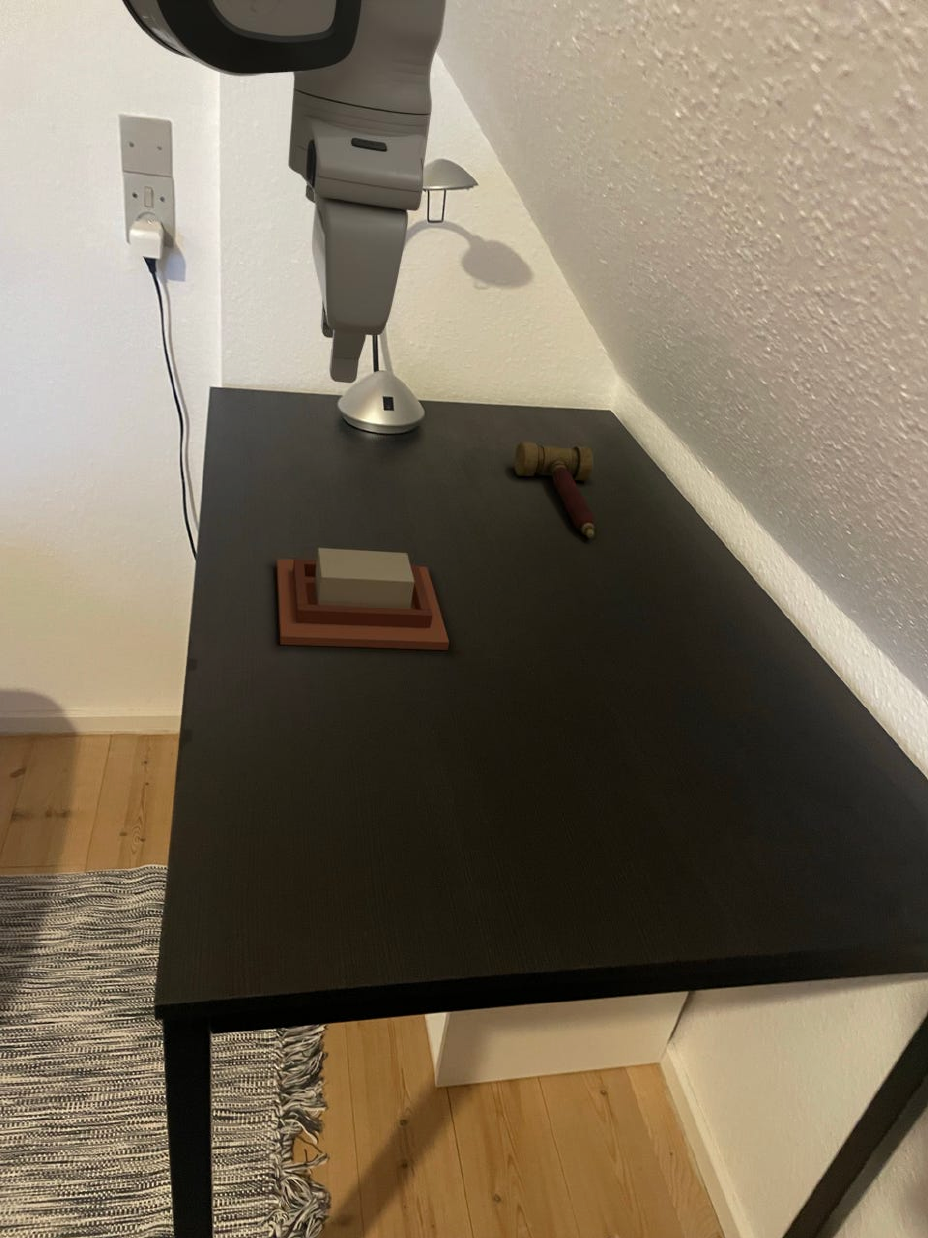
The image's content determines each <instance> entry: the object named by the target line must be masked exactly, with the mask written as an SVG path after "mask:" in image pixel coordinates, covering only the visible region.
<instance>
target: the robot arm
mask: <svg viewBox="0 0 928 1238" xmlns="http://www.w3.org/2000/svg"><path fill="white" fill-rule="evenodd" d="M121 1H122V3H123V5H124V7H125V8H126V10H127V11H128V14H130V16H131V17H132V19H133V20H134V21H135V24H137V25H138V26H139V28H140V29H141V30H142V31H143V32H144V33H145V34H146V35H147V36H148V37H149V38H150V39H151V40H153V41H154V42H155V43H157V44H158V45H159V46H161V47H162V48H163V49H165V50H167V51H169V52H171V53H173V54H175V55H178V56H181V57H184V58H187V59H191V60H193V61H194V62H196V63H198V64H199V65H202V66H204V67H206V68H208V69H210V70H213V71H214V72H217V73H221V74H224V75H229V76H233V77H256V76H262V75H266V74H282V73H283V74H284V73H292V75H293V90H292V101H291V102H292V103H291V118H290V130H289V131H290V132H289V145H288V146H289V147H288V163H287V165H288V167H289V169H290V170H291V171H293V172H294V173H296V174H298V175H300V176H301V177H302V179H303V180H304V181H305V182H306V186H305V195H304V196H305V198H306V199H307V201H309V202H311V203H313V204H314V213H313V222H312V225H313V226H312V234H311V252H312V258H313V260H314V261H313V262H314V267H315V271H316V277H317V281H318V285H319V289H320V295H321V318H320V330H321V333H322V335H323V337H325V338H328V339H332V341H331V349H330V357H329V368H328V369H329V375H330V378H331V380H332V381H334V382H335V383H342V384H343V383H344V384H353V383H355V382H356V380H357V378H358V372H359V371H358V370H359V362H360V359H361V355H362V353H363V352H362V351H363V349H364V345H365V342H366V339H367V336H380V335H382V333H383V332H384V330H385V328H386V326H387V323H388V322H389V321H388V320H389V319H390V318H389V317H390V316H391V311H392V307H393V301H394V298H395V293H396V288H397V284H398V279H399V274H400V269H401V264H402V259H403V254H404V249H405V244H406V243H405V242H406V239H407V232H408V225H409V212H408V211H414V212H416V211H418V210H419V209H420V207H421V204H422V203H421V202H422V196H423V191H424V190H423V189H424V168H425V161H426V154H427V147H428V140H429V133H430V132H429V131H430V124H431V117H432V112H433V111H432V110H433V109H432V108H433V102H432V101H433V100H432V92H431V72H432V65H433V61H434V57H435V54H436V52H437V49H438V47H439V44H440V42H441V39H442V35H443V31H444V23H445V15H446V7H447V0H121Z"/></svg>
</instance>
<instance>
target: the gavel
mask: <svg viewBox="0 0 928 1238" xmlns="http://www.w3.org/2000/svg"><path fill="white" fill-rule="evenodd" d="M593 467H594V454H593V451H592V449H591V448H590V447H587V446H574V447H573V448H572V449H571V448H570V447H561V446H551V445H550V446H549V445H540V446H538V445H537V444H536V442H532V441H520V442H519V443H518V444H517V446H516V450H515V453H514V470H515V473H516V474H517V476H522V477H533V476H534V475H535V474H537V475H539V476H550V477H552V481H553V485H554V486H555V488H556V490H557V492H558V495H559V496H560V498H561V501H562V503H563V504H564V507H565V509H566V512H567V513H568V515H569V518H570V519H571V522H572V523H573V526H574V527H575V528H576V530H578V531H579V532H581V533H582V534H583V535H584V536H586V537H587V538H590V539H591V538H594V537H595V518H594V516H593V514H592V512H591V510H590V508H589V505H588V504H587V502H586V500H585V499H584V497H583V494H582V493H581V491H580V489H579V487H578V485H577V483H576V481H583V482H584V481H588V480H589V478H590V477H591V475H592V472H593Z"/></svg>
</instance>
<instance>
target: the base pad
mask: <svg viewBox="0 0 928 1238" xmlns="http://www.w3.org/2000/svg"><path fill="white" fill-rule="evenodd" d="M316 564H317V559H314V558H312V559H311V558H293V559H290V558H289V559H286V558H277V560H276V581H277V584H276V585H277V601H278V602H277V603H278V604H277V605H278V621H279V622H278V624H279V626H278V627H279V644H280V645H283V646H284V645H285V646H312V647H342V648H372V649H403V650H428V651H429V650H433V651H434V650H435V651H448V650H449V644H450V639H449V638H448V635H447V634H448V633H447V630H446V627H445V623H444V620H443V616H442V614H441V609H440V606H439V603H438V600H437V597H436V593H435V589H434V586H433V583H432V579H431V576H430V572H429V568H428V567H427V566H419V565H418V564H410V567H411V571H412V574H413V578H414V588H413V594H412V600H411V605H410V609H392V608H370V607H347V606H325V605H317V599H316V589H315V573H316Z"/></svg>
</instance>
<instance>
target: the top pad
mask: <svg viewBox="0 0 928 1238" xmlns="http://www.w3.org/2000/svg"><path fill="white" fill-rule="evenodd" d="M316 560H317V564H316V573H315V589H316V599H317V605H325V606H347V607H370V608H392V609H410V605H411V600H412V594H413V588H414V578H413V574H412V571H411V567H410V565H411V563H410V560H409V555H408V553H407V552H394V551H392V552H391V551H377V550H376V551H374V550H358V549H343V548H342V549H341V548H327V547H326V548H325V547H318V548H317V556H316Z"/></svg>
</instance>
